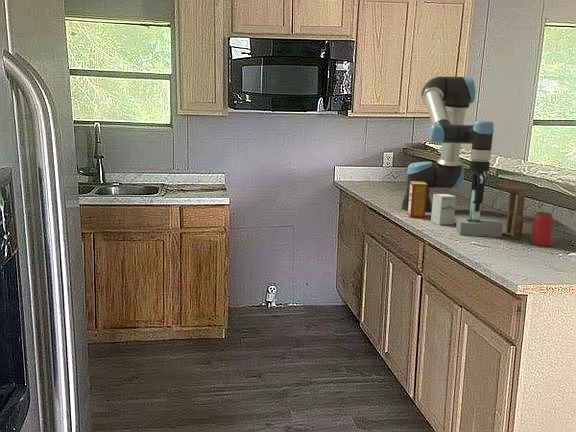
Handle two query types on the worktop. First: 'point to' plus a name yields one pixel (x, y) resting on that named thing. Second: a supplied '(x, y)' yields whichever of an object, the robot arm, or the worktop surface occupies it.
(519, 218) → the wooden t-shaped stand
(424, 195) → the baking soda box
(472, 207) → the peg
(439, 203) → the supplement box
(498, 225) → the socket
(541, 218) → the beer can
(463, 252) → the worktop surface
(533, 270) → the worktop surface
